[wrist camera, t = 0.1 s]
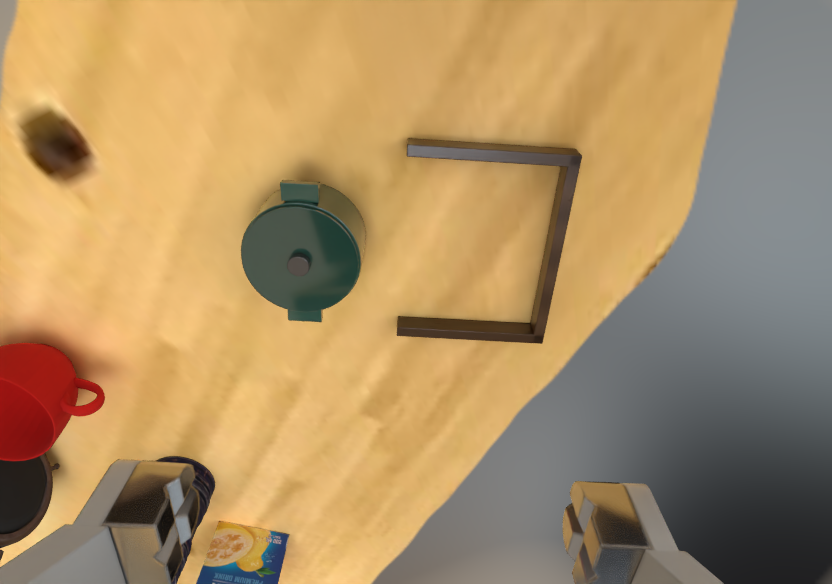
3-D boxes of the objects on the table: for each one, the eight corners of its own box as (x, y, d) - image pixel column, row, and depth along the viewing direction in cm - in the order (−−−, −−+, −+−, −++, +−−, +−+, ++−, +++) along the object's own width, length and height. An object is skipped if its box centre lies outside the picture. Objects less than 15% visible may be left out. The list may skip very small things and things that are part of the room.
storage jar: (195, 513, 83) (154, 611, 70) (134, 484, 80) (79, 581, 67) (228, 477, 79) (191, 573, 66) (166, 445, 76) (114, 540, 63)
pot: (251, 162, 57) (228, 187, 50) (367, 169, 57) (360, 195, 50) (262, 291, 64) (243, 329, 57) (364, 297, 65) (358, 335, 58)
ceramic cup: (141, 404, 73) (104, 462, 64) (14, 404, 73) (-41, 461, 64) (116, 322, 67) (70, 373, 58) (-24, 321, 67) (-91, 372, 58)
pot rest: (407, 138, 56) (407, 144, 54) (576, 148, 56) (582, 155, 54) (397, 324, 67) (396, 335, 64) (538, 332, 67) (542, 343, 65)
